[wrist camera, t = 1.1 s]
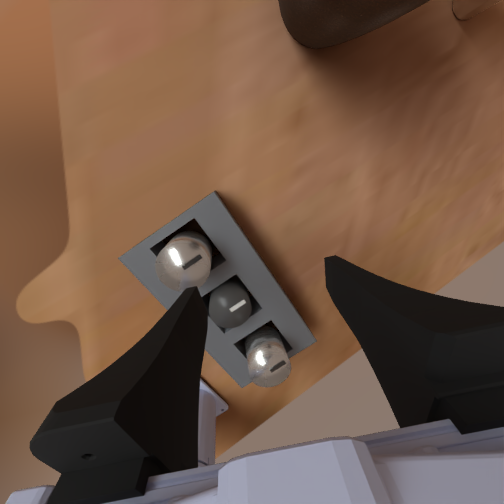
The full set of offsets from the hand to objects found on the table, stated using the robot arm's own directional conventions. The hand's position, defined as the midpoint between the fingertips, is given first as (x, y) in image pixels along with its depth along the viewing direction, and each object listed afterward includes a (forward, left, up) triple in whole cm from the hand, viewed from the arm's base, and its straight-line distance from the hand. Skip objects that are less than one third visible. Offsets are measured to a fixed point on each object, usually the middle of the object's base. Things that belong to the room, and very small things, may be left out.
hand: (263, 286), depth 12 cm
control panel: (-5, -5, -14) cm, 16 cm away
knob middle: (-5, -5, -14) cm, 15 cm away
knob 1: (-5, +2, -11) cm, 12 cm away
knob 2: (-5, -12, -11) cm, 17 cm away
